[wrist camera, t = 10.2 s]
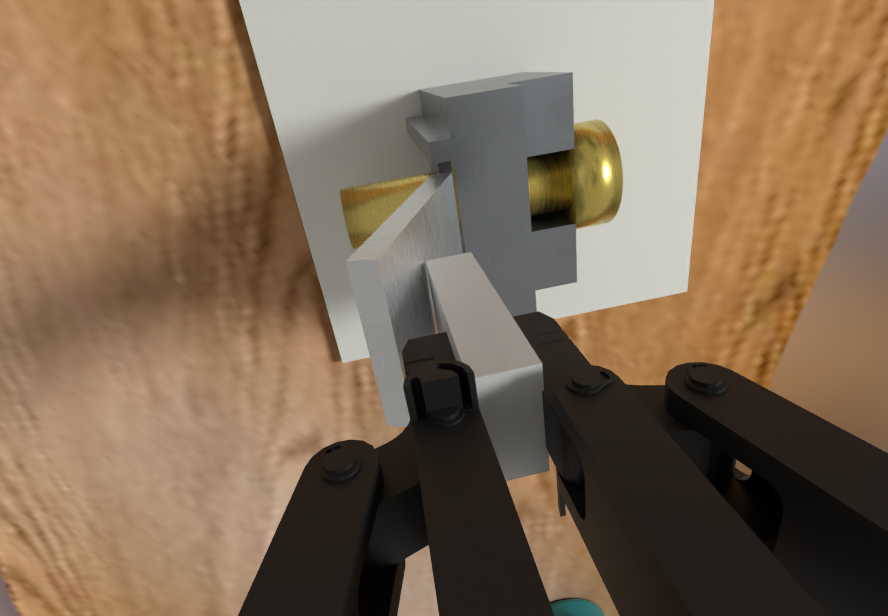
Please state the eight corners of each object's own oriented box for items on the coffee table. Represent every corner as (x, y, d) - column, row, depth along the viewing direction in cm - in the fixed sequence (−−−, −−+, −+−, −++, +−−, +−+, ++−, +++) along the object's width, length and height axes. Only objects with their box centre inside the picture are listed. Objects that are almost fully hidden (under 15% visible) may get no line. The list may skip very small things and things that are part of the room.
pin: (577, 115, 26) (624, 124, 22) (579, 209, 28) (621, 236, 24) (336, 157, 25) (331, 176, 21) (358, 251, 28) (358, 287, 23)
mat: (236, -18, 24) (233, -20, 23) (715, -87, 26) (722, -91, 25) (342, 358, 34) (342, 362, 33) (682, 288, 36) (687, 291, 35)
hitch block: (524, 71, 27) (611, 72, 18) (535, 241, 32) (608, 312, 22) (400, 92, 26) (423, 104, 17) (429, 262, 31) (459, 343, 22)
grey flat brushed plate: (451, 171, 18) (377, 259, 11) (467, 290, 21) (414, 427, 13) (431, 173, 19) (345, 261, 11) (449, 290, 21) (387, 425, 14)
